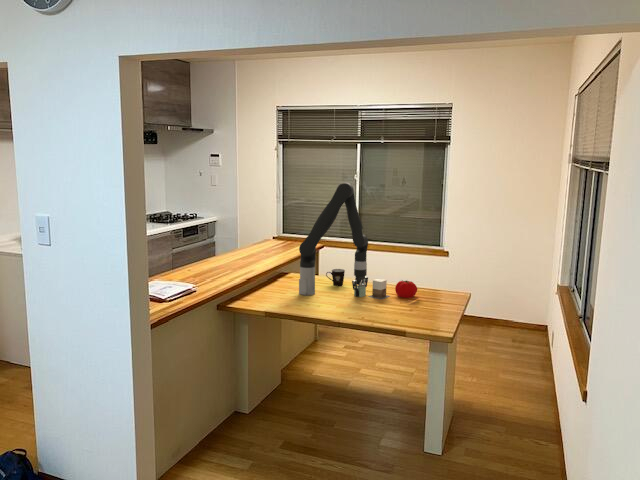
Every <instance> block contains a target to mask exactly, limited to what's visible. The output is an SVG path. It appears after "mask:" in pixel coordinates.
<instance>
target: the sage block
mask: <svg viewBox="0 0 640 480" xmlns="http://www.w3.org/2000/svg"><path fill="white" fill-rule="evenodd" d="M362 286H363V285H362ZM362 286H361V287H360V288H359V297H358V298H363V297H365V296H366V294H367V293H366V291H367V287H362ZM357 288H358V287H357ZM353 296H354V297H356V296H355V290H353Z"/></svg>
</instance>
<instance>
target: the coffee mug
mask: <svg viewBox="0 0 640 480" xmlns="http://www.w3.org/2000/svg"><path fill="white" fill-rule="evenodd" d="M345 273H346V270H345V269H343V268H333V269H331V271H327V272H326V273H325V276H326V278H328V279H329V280H330V281H331V282H332V285H333V286H334V287H343V286H344V278H345ZM328 274H331V277H332V278H330V277H328ZM342 285H343V286H342Z"/></svg>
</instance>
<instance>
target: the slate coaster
mask: <svg viewBox="0 0 640 480" xmlns="http://www.w3.org/2000/svg"><path fill="white" fill-rule="evenodd" d="M367 298H371V299H376V300H385V299H388V298H391V295H387V294H386V297H383V298H377V297H372V294H371V295H368V296H367Z"/></svg>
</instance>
